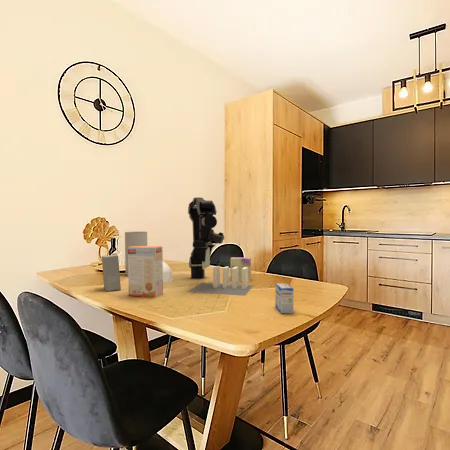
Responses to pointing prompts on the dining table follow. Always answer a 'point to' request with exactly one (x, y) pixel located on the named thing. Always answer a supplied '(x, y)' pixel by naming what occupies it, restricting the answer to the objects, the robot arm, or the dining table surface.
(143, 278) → the cracker box
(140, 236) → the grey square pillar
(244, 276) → the domino
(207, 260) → the domino
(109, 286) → the skincare box
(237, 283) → the domino
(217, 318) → the dining table surface
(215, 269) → the domino
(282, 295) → the medicine box
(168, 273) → the teardrop
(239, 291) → the mat
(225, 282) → the domino
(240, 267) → the box
